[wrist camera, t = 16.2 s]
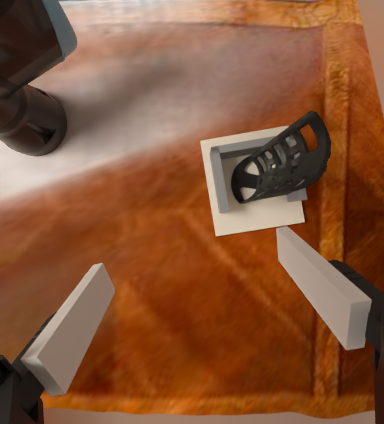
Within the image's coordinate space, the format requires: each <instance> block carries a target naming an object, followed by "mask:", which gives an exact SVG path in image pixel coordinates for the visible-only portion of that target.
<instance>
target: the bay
mask: <svg viewBox="0 0 384 424" xmlns="http://www.w3.org/2000/svg"><path fill="white" fill-rule="evenodd" d="M288 127H289V126H282V127H277V128H271V129H265V130H260V131H254V132H248V133H242V134H237V135H231V136H225V137H220V138H214V139H208V140H202V141H200V143H201V149H202V155H203V161H204V167H205V173H206V179H207V185H208V192H209V198H210V204H211V210H212V216H213V222H214V228H215V234H216V236H221V235H227V234H233V233H240V232H246V231H252V230H259V229H265V228H271V227H277V226H284V225H290V224H296V223H302V222H305V220H304V214H303V208H302V202H301V200H307V194H306V188H304V189H301V190H298V191H294V192H292V193H290V194H288V195H283V196H277V197H271V198H266V199H260V200H256V201H251V202H248V203H244V204H240V203H239V202H238V201H237V200H236V198H235V197H234V195H233V192H232V188H231V179H232V174H233V171H234V169H235V168H236V166H237V165H238V164H239V163H240V162H241V161H242V160H243V159H245V158H246V157H248V156H250V155H252V154H253V153H254V152H256V151H257V150H258V149H260V148H261V147H262V146H264V145H265V144H266V143H268V142H269V141H270V140H272V139H273V138H274V137H276V136H277V135H278V134H280V133H281V132H282V131H284V130H285V129H286V128H288ZM286 141H287V143H288V145H289V147H292V146H294V145H296V140H295V139H294V137H293V136H289V137H288V138H286ZM274 149H275V150H276V151H277V153H278V155H279V157H280V159H281V162H282V164H284V163H286V155H285V153H284V151H283V149H282V147H281V146H280V145H279V144H277V145H275V146H274ZM265 154H266V156H267V158H268V159H271V158H272V155H271V153H270V152H269V151H266V152H265ZM298 156H300V153H298V154H296V155H294V159H295V158H297V157H298ZM257 159H258V160H259V162H260V163H261V165H262V167H263V169H264V172H266V165H265V163H264V161H263V160H262V158H261V157H260V156H259V157H258V158H257ZM272 168H275V164H274V165H272ZM244 170H245V172H247V173H250V174H255V175H259V172H258V169H257V166H256V165H255V163H254V162H253V161H251V162H250V163H249V164H248V165H247V166H246V167H245V169H244ZM302 182H304V180H302V181H301V182H300V183H299V184H298V185H300V184H301V183H302ZM290 183H291V182H290ZM290 183H289V184H290ZM298 185H297V186H298ZM295 187H296V186H295ZM240 191H241V194H242V196H243V199H244V200H246V199H248V198H249V197H251V196H252V195H253V194H254V193H255V191H256V189H252V188H246V187H242V188H241V189H240Z"/></svg>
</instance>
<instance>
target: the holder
mask: <svg viewBox="0 0 384 424" xmlns="http://www.w3.org/2000/svg"><path fill="white" fill-rule="evenodd" d="M307 124H309V125H310V126H311V128H312V129H313V131H314V133H315V135H316V138H317V144H318V146H317V148H316V149H315V150H313V151H311V152H309V150H308V147H307V144H306V141H305V139H304V137H303V135H302V134H301V132H300V129H301V128H303V127H304V126H306V125H307ZM289 136H293V137H294V139H295V140H296V145H294V146H292V147H289V145H288V143H287V141H286V138H288V137H289ZM277 144H279V145H280V146H281V147H282V149H283V151H284V153H285V155H286V163H284V164H282V162H281V159H280V157H279V155H278V153H277V151H276V150H275V149H274V146H275V145H277ZM266 151H269V152H270V153H271V155H272V158H271V159H268V158H267V156H266V154H265V152H266ZM298 153H300V156H298V157H297V158H295V159H294V155H296V154H298ZM330 155H331V141H330V137H329V133H328V131H327V128H326V126H325V124H324V122H323V121H322V119H321V118H320V116H319V115H318V114H317V113H316V112H314V111H310V112H308V113H307V114H306V115H304V116H303V117H301V118H300V119H299V120H297V121H296V122H295V123H293V124H292V125H291V126H289V127H288V128H286V129H285V130H284V131H282V132H281V133H280V134H278V135H277V136H276V137H274V138H273V139H272V140H270V141H269V142H268V143H266V144H265V145H264V146H262V147H261V148H260V149H258V150H257V151H256V152H254V153H253V154H252V155H250V156H248V157H246V158H245V159H243V160H242V161H241V162H240V163H239V164H238V165H237V166H236V168H235V169H234V171H233V174H232V179H231V188H232V192H233V195H234V197H235V198H236V200H237V201H238V202H239V203H240V204H244V203H248V202H251V201H256V200H260V199H266V198H271V197H277V196H283V195H288V194H290V193H292V192H294V191H298V190H301V189H304V188H306V187H308V186H310V185H311V184H313V183H315V182H316V181H317V180H318V179H319V178H320V177H321V176H322V174H323V173H324V172H325V171H326V168H327V161H328V159H329V158H330ZM259 156H260V157H261V158H262V160H263V161H264V163H265V165H266V172H264V169H263V167H262V165H261V163H260V162H259V160H258V159H257V158H258V157H259ZM251 161H253V162H254V163H255V165H256V166H257V169H258V172H259V175H255V174H250V173H247V172H245V170H244V169H245V167H246V166H247V165H248V164H249V163H250V162H251ZM274 164H275V168H272V165H274ZM306 178H307V179H306ZM304 179H306V180H305V181H304V182H302V183H301V184H300V185H298V184H299V183H300V182H301V181H302V180H304ZM290 182H291V183H290ZM289 183H290V184H289ZM297 185H298V186H297ZM295 186H296V187H295ZM242 187H246V188H252V189H256V191H255V193H254V194H253V195H252V196H251V197H249V198H248V199H246V200H244V199H243V196H242V194H241V191H240V189H241V188H242Z"/></svg>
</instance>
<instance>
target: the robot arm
mask: <svg viewBox="0 0 384 424" xmlns="http://www.w3.org/2000/svg"><path fill="white" fill-rule="evenodd" d="M76 47H77V38H76V35H75V32H74V30H73V28H72V26H71V24H70V22H69V20H68V18H67V16H66V14H65V13H64V11H63V9H62V7H61V5H60V3H59V2H58V0H0V140H1V141H2V142H4V143H5V144H6V145H7V146H8V147H10V148H11V149H13V150H15V151H18V152H20V153H23V154H26V155H30V156H40V155H44V154H47V153H49V152H51V151H53V150H54V149H55V148H56V147H57V146H58V145H59V144H60V143H61V141H62V140H63V138H64V136H65V133H66V127H67V120H66V115H65V112H64V110H63V108H62V106H61V105H60V104H59V103H58V101H56V100H55V99H54V98H53V97H52V96H50V95H49V94H48V93H46V92H44V91H43V90H40V89H38V88H35V87H33V86H30V85H27V84H28V83H30V82H31V81H33V80H34V79H36V78H37V77H39V76H40V75H42V74H43V73H45V72H47V71H48V70H50V69H51V68H53V67H54V66H56V65H57V64H59V63H60V62H63V61H64V60H65V58H66V57H67V56H68V55H70V54H71V53H72V52H73V51H74V50H75V49H76ZM276 230H277V246H278V260H279V261H280V263H281V264H282V265H283V267H284V268H285V269H286V271H287V272H288V273H289V275H290V276H291V277H292V279H293V280H294V281H295V283H296V284H297V285H298V287H299V288H300V289H301V291H302V292H303V293H304V295H305V296H306V297H307V299H308V300H309V301H310V303H311V304H312V305H313V307H314V308H315V309H316V311H317V312H318V313H319V315H320V316H321V317H322V319H323V320H324V321H325V323H326V324H327V325H328V327H329V328H330V329H331V331H332V332H333V333H334V335H335V336H336V337H337V339H338V340H339V341H340V343H341V344H342V345H343V347H344V348H345V349H346V350H350V349H357V348H363V347H364V345H365V339H367V340H368V341H369V342H370V343H371V344H372V345H373V347H374V350H373V355H372V361H371V363H372V364H374V392H375V420H376V421H375V423H376V424H384V293H383V292H381V291H380V290H379V289H378V288H376V287H375V286H374V285H373V284H371V283H370V282H369V281H367V280H366V279H364V278H363V277H362V276H361V275H360V274H358V273H356V271H355V270H353V269H352V268H351V267H350V266H348V265H347V264H345V263H342V262H340V261H338V260H331V261H327V260H325V259H324V258H323V257H322V256H321V255H320V254H318V253H317V252H316V251H315V250H314V249H313V248H312V247H310V246H309V245H308V244H307V243H306V242H305V241H304V240H302V239H301V238H300V237H299V236H298V235H297V234H295V233H294V232H293V231H292V230H291V229H290V228H289V227H287V226H286V227H281V228H276ZM115 291H116V290H115V288H114V286H113V284H112V282H111V279H110V277H109V275H108V273H107V271H106V269H105V267H104V264H103V263H100V264H95V265H93V266H92V267H91V269H90V270H89V271H88V272H87V274H86V275H85V276H84V278H83V279H82V280H81V282H80V283H79V284H78V285H77V287H76V288H75V289H74V291H73V292H72V293H71V295H70V296H69V297H68V298H67V300H66V301H65V302H64V304H63V305H62V306H61V307H60V309H59V310H58V311H57V312H55V313H54V314H53V315H52V316H51V317H50V318H48V319H47V320H46V322H45V323H44V324H43V325H42V327H41V328H40V330H39V331H38V332H37V333H36V334H35V335H34V338H32V339H31V340H30V342H29V343H28V344H27V345H26V347H25V348H24V349H23V350H22V352H21V353H20V354H19V356H18V357H17V358H16V359H15V361H14V362H13V363H12V364H10V363H9V362H8V360H7V359H6V358H5V357H4V356H3V355H0V424H44V417H43V402H42V399H41V398H40V396H41V394H42V393H43V391H44V389H45V390H46V391H47V392H48V394H49V395H50V396H55V395H61V394H66V392H67V390H68V388H69V386H70V384H71V381H72V379H73V377H74V375H75V373H76V371H77V369H78V367H79V365H80V363H81V361H82V359H83V357H84V355H85V353H86V351H87V349H88V347H89V345H90V343H91V341H92V338H93V336H94V334H95V332H96V330H97V328H98V326H99V324H100V322H101V320H102V318H103V316H104V314H105V312H106V310H107V308H108V306H109V304H110V302H111V300H112V297H113V295H114V293H115Z"/></svg>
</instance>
